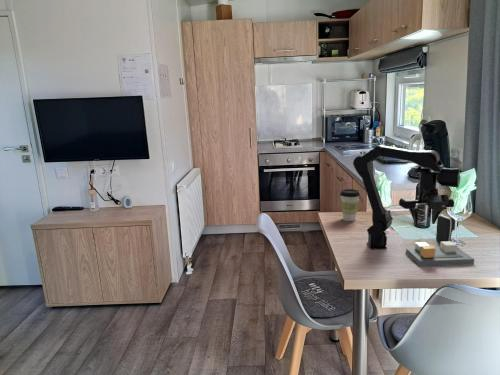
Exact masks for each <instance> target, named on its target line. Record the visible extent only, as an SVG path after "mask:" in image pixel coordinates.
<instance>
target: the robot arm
mask: <svg viewBox="0 0 500 375" xmlns="http://www.w3.org/2000/svg"><path fill="white" fill-rule="evenodd" d="M380 157H387V158H392V159H396V160H397V159H398V160H403V161H408V162H412V163H414V164H416V165H418V167H417V168H416V169H415V170H414V173H419V185H417V189H418V195H417V196H416V200H415V199H413V198H411V197H401V198H400V199H399V200H398V206H400V207H401V208H403V209H405V210H409V213H410V214H411V217H412V220H413V223H414V224H415V225H416V226H417V225H418V222H419V220H418V219H419V218H418V216H419V211H420V208H418V206H427V207H428V209H431V224H433V225H435V224H436V223H437V219H438V217H439V216H440V214H441V213H442V212H443V211H444V210H448V208H454V207H455V201H454V199H453V198H450V197H449V195H448V194H439V188H437V183H438V185H440V186H441V187H451V188H459V187H460V184H461V172H460V171H461V168H459V167H458V168H457V167H456V168H448V167H445V165H444V164H443V163H442V161H441V158H440V157H441V156H440V154H439V153H438V151H436V150H431V149H429V150H427V149H423V150H422V149H421V150H411V149H405V148H401V147H393V146H388V145H384V144H379V145H376V146H374V147H373V148H372V149H370V150H369V151H368V152H366V153H364V154H361V155H358V156H357V157H355V158H354V159H353V162H352V165H353V168H354V169H355V171H356V173H357V174H358V175H359V176H360V178H361V179H362V183H363V186H364V189H365V191H366V195H367V198H368V203H369V205H370V207H371V211H372V213H371V214H372V215H371V216H372V217H371V220H372V225H371V226H370V227H368V228H367V229H366V231H367V234H368V235H367V236H368V238H367V242H366V245H367V246H368V248H370V249H371V250H387V249H388V248H387V245H388V243H387V242H388V241H387V240H388V236H387V232H386V231H387V229H389V228H391V225H393V220H394V218H393V217H392V215H391V214H392V213H391V210H390V209H388V210H386V209H385V207H384V205H383V201H382V198H381V195H380V193H379V189H378V187H377V183H376V179H375V176H374V161H376V160H377V159H378V158H380Z"/></svg>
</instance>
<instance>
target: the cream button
mask: <svg viewBox="0 0 500 375" xmlns="http://www.w3.org/2000/svg"><path fill="white" fill-rule="evenodd" d="M451 241H452V240H451ZM451 241H443V242H440V241H439V242H440V243H439V244H440V246H439V247H440V249H441V250H442V251H444V252H445V253H447V252H456V247H457V244H455V243H454V242H453V241H452V242H451Z"/></svg>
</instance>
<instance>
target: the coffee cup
mask: <svg viewBox="0 0 500 375" xmlns="http://www.w3.org/2000/svg"><path fill="white" fill-rule="evenodd" d="M339 195H340V201H341V202H340V203H341V214H342V220H343V221H346V222H354V221H356V218H357V214H358V208H359V202H360V200H359V198H360V196H361V193H360V191H359V190H357V189H354V188H345V189H342V190H341V191H340V193H339Z"/></svg>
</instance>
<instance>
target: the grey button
mask: <svg viewBox="0 0 500 375" xmlns="http://www.w3.org/2000/svg"><path fill="white" fill-rule="evenodd" d="M429 245H430V244H429V243H427V242H426V241H422V242H419V241H418V242H415V244H414V248H415V250H416V251H417V252H418V253H419V254H420V251H421V246H429Z"/></svg>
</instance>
